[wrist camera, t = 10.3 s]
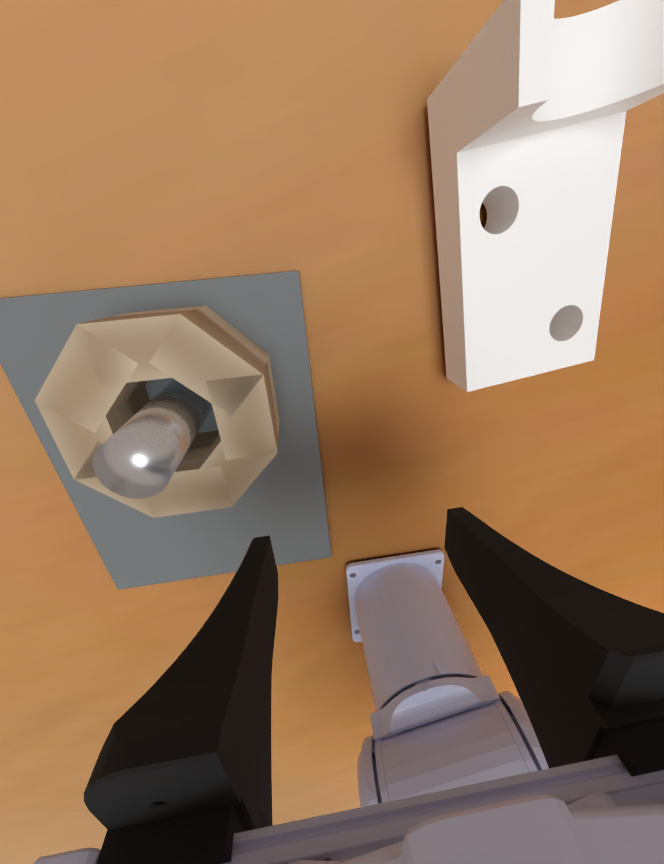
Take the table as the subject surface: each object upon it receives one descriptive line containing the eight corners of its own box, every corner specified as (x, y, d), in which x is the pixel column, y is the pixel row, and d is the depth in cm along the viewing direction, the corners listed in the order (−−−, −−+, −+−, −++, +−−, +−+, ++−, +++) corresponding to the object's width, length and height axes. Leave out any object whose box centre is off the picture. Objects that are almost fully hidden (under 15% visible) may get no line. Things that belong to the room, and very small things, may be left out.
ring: (286, 457, 22) (285, 499, 18) (134, 477, 21) (97, 525, 17) (260, 299, 18) (251, 306, 13) (69, 318, 17) (-1, 331, 13)
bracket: (419, 109, 15) (521, -23, 9) (566, 73, 16) (782, -86, 9) (440, 374, 21) (511, 421, 14) (548, 347, 21) (670, 381, 14)
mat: (331, 554, 26) (331, 556, 26) (119, 586, 25) (118, 589, 25) (298, 270, 17) (298, 270, 17) (-27, 300, 16) (-32, 301, 16)
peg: (219, 414, 20) (179, 493, 13) (174, 420, 20) (108, 503, 13) (208, 372, 19) (158, 432, 12) (161, 377, 19) (80, 442, 11)
